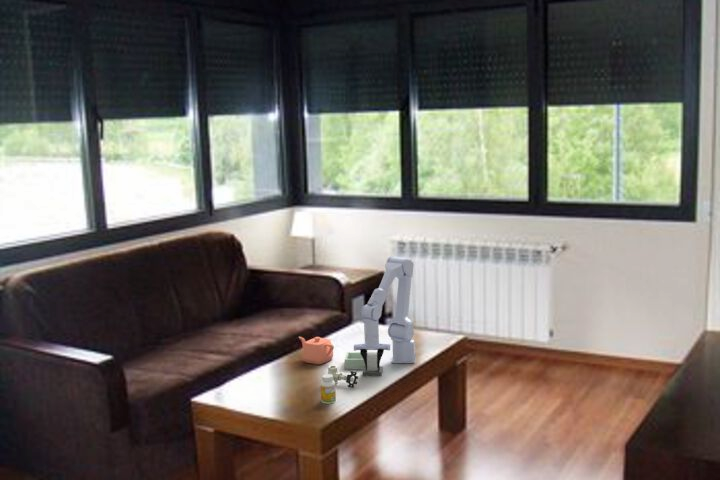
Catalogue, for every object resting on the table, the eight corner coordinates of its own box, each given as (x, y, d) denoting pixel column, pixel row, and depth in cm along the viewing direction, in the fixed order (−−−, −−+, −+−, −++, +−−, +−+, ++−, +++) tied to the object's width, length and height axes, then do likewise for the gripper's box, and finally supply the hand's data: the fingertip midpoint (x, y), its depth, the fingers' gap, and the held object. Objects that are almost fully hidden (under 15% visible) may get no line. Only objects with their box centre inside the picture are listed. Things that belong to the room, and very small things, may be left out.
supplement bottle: (320, 399, 288) (319, 373, 286) (335, 398, 288) (334, 372, 286) (321, 404, 282) (320, 378, 281) (336, 403, 283) (335, 377, 281)
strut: (378, 371, 316) (378, 352, 315) (377, 374, 312) (377, 355, 311) (367, 371, 317) (367, 352, 315) (366, 374, 312) (366, 355, 311)
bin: (370, 361, 329) (369, 352, 328) (368, 368, 320) (367, 359, 319) (347, 361, 330) (346, 352, 329) (344, 368, 320) (344, 359, 320)
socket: (382, 369, 318) (382, 366, 317) (381, 376, 310) (381, 372, 310) (364, 369, 318) (364, 366, 318) (362, 376, 311) (362, 372, 311)
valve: (323, 384, 303) (348, 390, 296) (323, 368, 302) (347, 373, 295) (334, 379, 308) (358, 385, 301) (333, 363, 307) (358, 368, 300)
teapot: (326, 367, 323) (325, 343, 321) (291, 361, 332) (290, 337, 331) (341, 360, 332) (340, 336, 331) (307, 354, 342) (306, 331, 340)
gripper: (352, 337, 308) (353, 370, 311) (389, 337, 307) (390, 370, 309) (354, 332, 315) (355, 364, 318) (390, 332, 314) (391, 364, 316)
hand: (372, 367), depth 314 cm, fingers closed on strut, 4 cm apart
